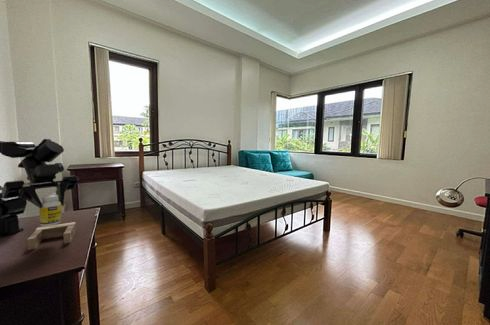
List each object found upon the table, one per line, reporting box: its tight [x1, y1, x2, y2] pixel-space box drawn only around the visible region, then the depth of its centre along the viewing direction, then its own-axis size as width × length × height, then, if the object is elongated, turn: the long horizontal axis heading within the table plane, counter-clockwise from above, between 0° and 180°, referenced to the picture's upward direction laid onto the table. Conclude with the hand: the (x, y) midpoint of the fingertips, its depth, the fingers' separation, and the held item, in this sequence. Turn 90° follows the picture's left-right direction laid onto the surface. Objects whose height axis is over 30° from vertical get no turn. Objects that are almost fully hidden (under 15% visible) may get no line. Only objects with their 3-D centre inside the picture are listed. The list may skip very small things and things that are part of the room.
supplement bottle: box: [38, 194, 62, 227], centre depth 70 cm, size 5×5×10 cm
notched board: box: [26, 221, 77, 251], centre depth 72 cm, size 10×10×4 cm
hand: (52, 205), depth 69 cm, fingers closed on supplement bottle, 5 cm apart
